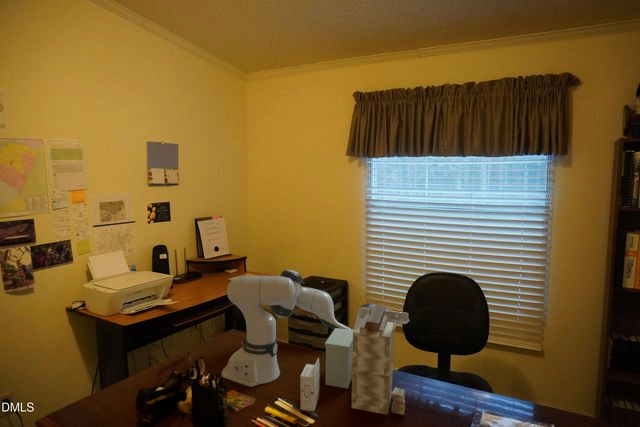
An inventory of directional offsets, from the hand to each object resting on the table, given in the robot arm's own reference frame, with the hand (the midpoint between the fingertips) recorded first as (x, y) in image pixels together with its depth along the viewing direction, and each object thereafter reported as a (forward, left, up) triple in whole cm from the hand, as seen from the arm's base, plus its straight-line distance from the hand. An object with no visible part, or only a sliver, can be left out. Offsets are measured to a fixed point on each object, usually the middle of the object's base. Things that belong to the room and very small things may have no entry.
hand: (382, 312), depth 146 cm
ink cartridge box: (-20, -32, -24) cm, 44 cm away
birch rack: (0, -23, -23) cm, 33 cm away
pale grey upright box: (-14, -12, -23) cm, 30 cm away
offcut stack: (+9, -26, -23) cm, 36 cm away
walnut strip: (0, -18, +3) cm, 18 cm away
